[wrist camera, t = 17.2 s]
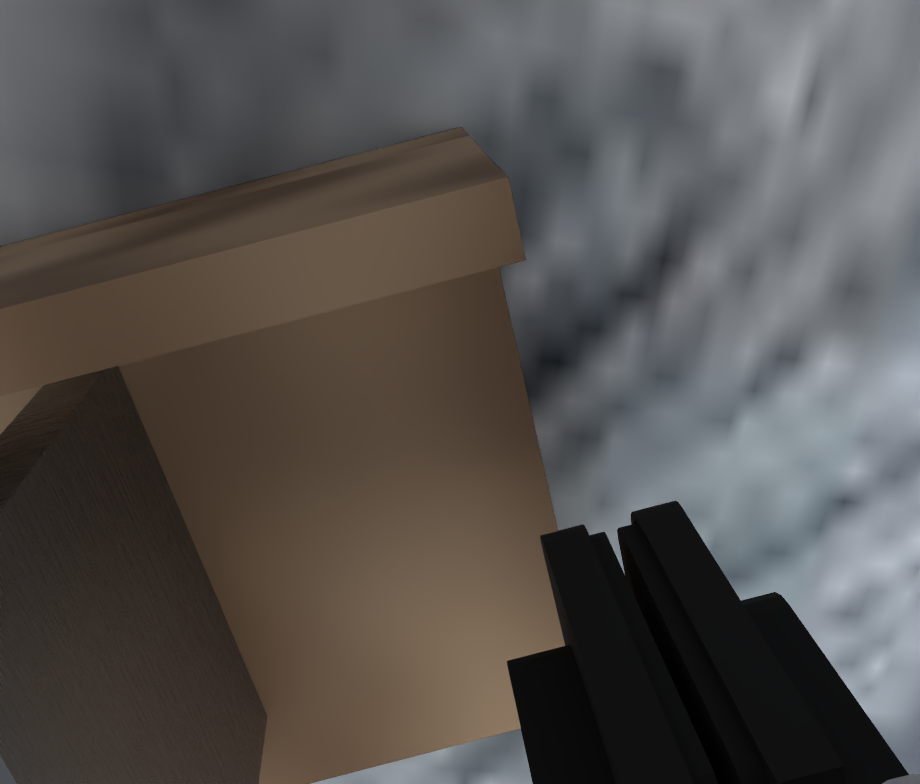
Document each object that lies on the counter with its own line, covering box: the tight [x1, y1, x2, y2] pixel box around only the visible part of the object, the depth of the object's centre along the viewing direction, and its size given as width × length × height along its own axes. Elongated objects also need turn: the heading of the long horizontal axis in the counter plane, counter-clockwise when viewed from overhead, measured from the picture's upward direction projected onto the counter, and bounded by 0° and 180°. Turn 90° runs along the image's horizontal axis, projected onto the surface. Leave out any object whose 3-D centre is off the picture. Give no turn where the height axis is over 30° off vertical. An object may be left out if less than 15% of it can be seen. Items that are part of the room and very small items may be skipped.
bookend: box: [0, 366, 268, 784], centre depth 13 cm, size 1×8×7 cm, turn 14°
